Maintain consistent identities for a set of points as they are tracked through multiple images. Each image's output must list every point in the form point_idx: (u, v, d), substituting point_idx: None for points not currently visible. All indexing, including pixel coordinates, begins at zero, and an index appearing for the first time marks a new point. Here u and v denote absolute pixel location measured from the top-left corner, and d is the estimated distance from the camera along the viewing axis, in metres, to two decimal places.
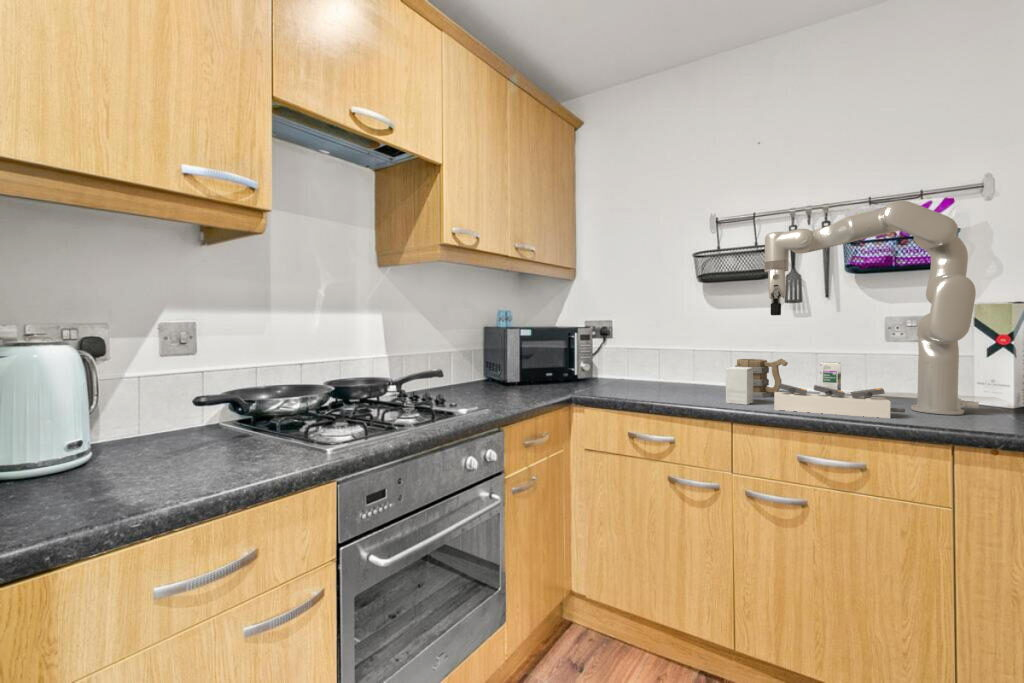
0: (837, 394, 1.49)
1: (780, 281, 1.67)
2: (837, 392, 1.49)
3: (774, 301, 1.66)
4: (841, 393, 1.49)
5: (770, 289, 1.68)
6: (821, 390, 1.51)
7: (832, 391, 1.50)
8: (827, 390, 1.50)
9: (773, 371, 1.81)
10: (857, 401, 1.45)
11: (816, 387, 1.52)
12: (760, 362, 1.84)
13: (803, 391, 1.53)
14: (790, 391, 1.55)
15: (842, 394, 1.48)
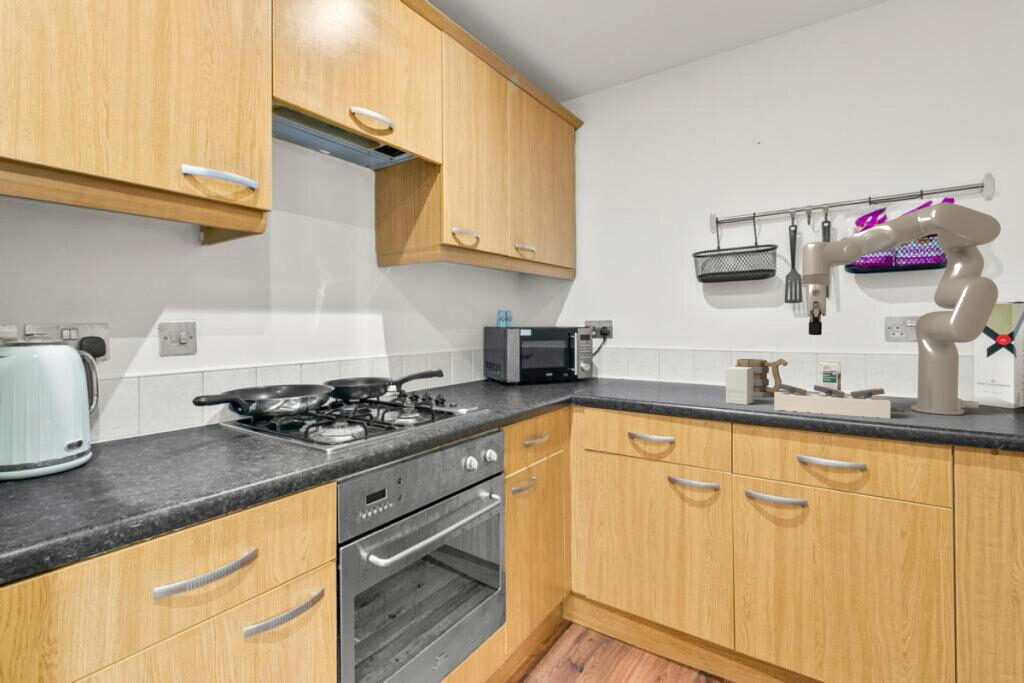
0: (837, 394, 1.49)
1: (821, 297, 1.48)
2: (837, 392, 1.49)
3: (814, 320, 1.48)
4: (841, 393, 1.49)
5: (809, 306, 1.50)
6: (821, 390, 1.51)
7: (832, 391, 1.50)
8: (827, 390, 1.50)
9: (773, 371, 1.81)
10: (857, 401, 1.45)
11: (816, 387, 1.52)
12: (760, 362, 1.84)
13: (803, 391, 1.53)
14: (790, 391, 1.55)
15: (842, 394, 1.48)
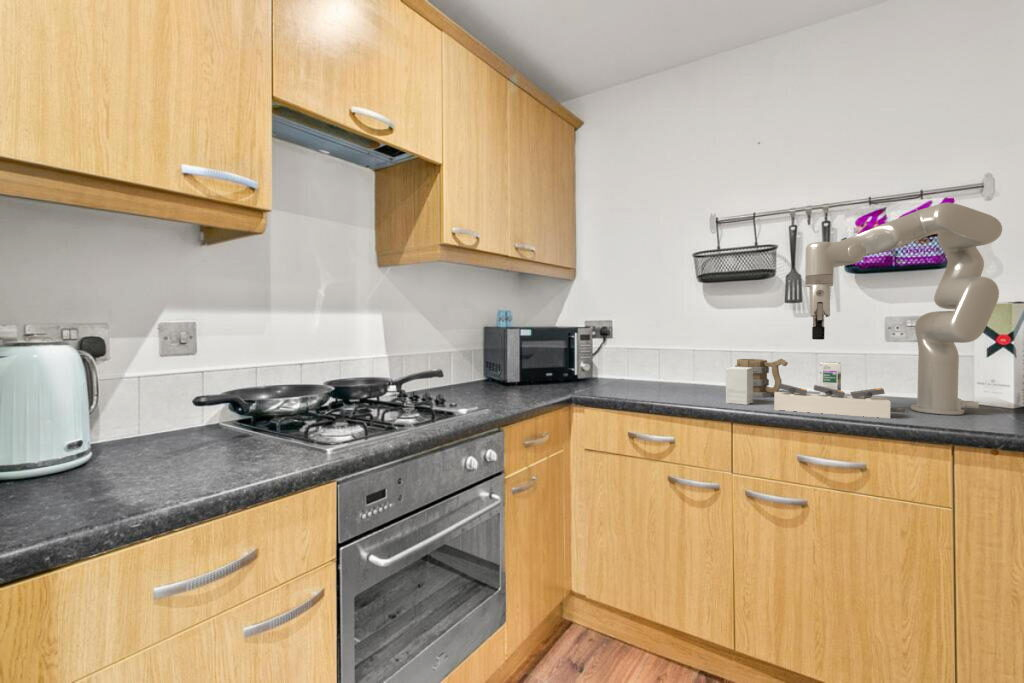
0: (837, 394, 1.49)
1: (825, 298, 1.47)
2: (837, 392, 1.49)
3: (817, 324, 1.51)
4: (841, 393, 1.49)
5: (813, 307, 1.49)
6: (821, 390, 1.51)
7: (832, 391, 1.50)
8: (827, 390, 1.50)
9: (773, 371, 1.81)
10: (857, 401, 1.45)
11: (816, 387, 1.52)
12: (760, 362, 1.84)
13: (803, 391, 1.53)
14: (790, 391, 1.55)
15: (842, 394, 1.48)
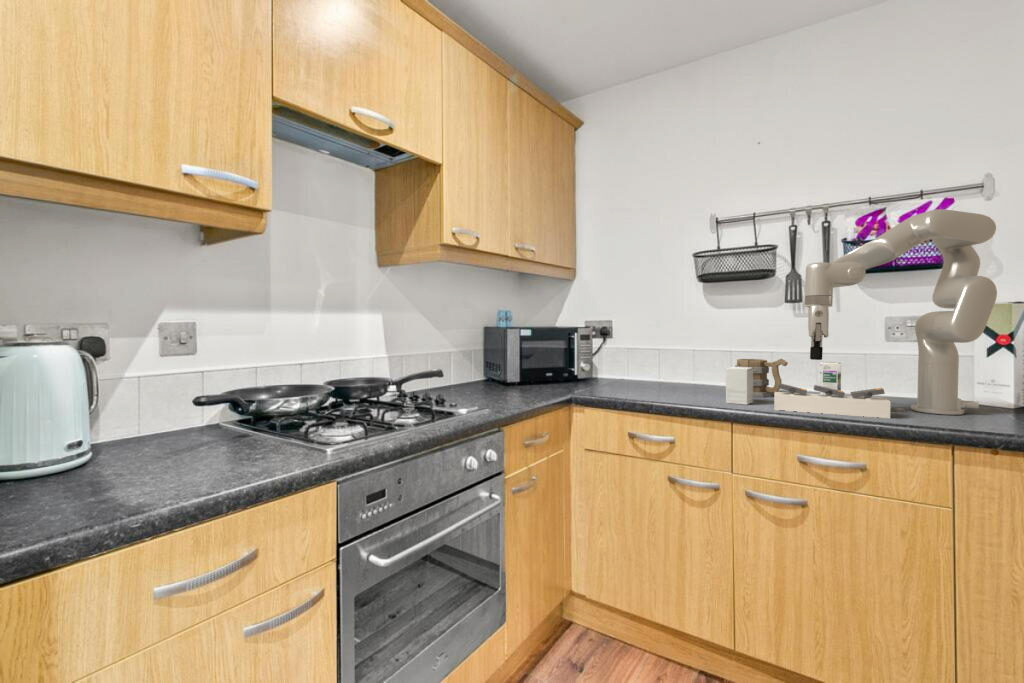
0: (837, 394, 1.49)
1: (823, 319, 1.47)
2: (837, 392, 1.49)
3: (815, 345, 1.51)
4: (841, 393, 1.49)
5: (811, 327, 1.49)
6: (821, 390, 1.51)
7: (832, 391, 1.50)
8: (827, 390, 1.50)
9: (773, 371, 1.81)
10: (857, 401, 1.45)
11: (816, 387, 1.52)
12: (760, 362, 1.84)
13: (803, 391, 1.53)
14: (790, 391, 1.55)
15: (842, 394, 1.48)
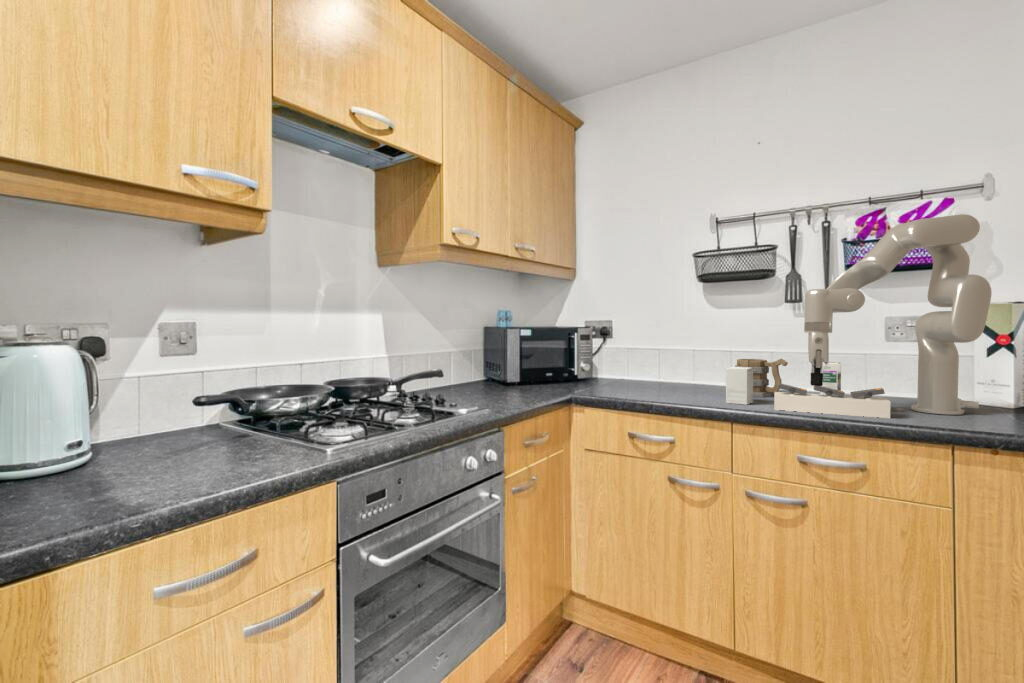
0: (837, 394, 1.49)
1: (823, 346, 1.48)
2: (837, 392, 1.49)
3: (815, 371, 1.51)
4: (841, 393, 1.49)
5: (811, 354, 1.49)
6: (821, 390, 1.51)
7: (832, 391, 1.50)
8: (827, 390, 1.50)
9: (773, 371, 1.81)
10: (857, 401, 1.45)
11: (816, 387, 1.52)
12: (760, 362, 1.84)
13: (803, 391, 1.53)
14: (790, 391, 1.55)
15: (842, 394, 1.48)
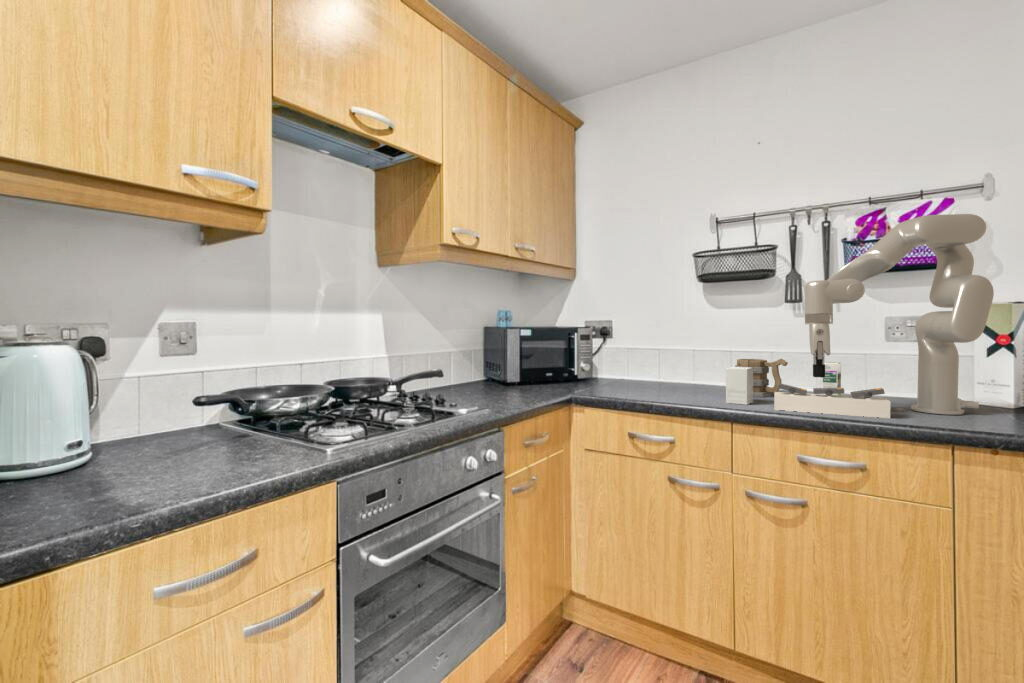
0: (837, 392, 1.49)
1: (825, 337, 1.48)
2: (836, 390, 1.49)
3: (817, 363, 1.51)
4: (841, 390, 1.49)
5: (813, 345, 1.49)
6: (821, 392, 1.51)
7: (831, 390, 1.50)
8: (826, 390, 1.50)
9: (773, 371, 1.81)
10: (857, 401, 1.45)
11: (815, 390, 1.52)
12: (760, 362, 1.84)
13: (803, 391, 1.53)
14: (790, 391, 1.55)
15: (842, 391, 1.48)
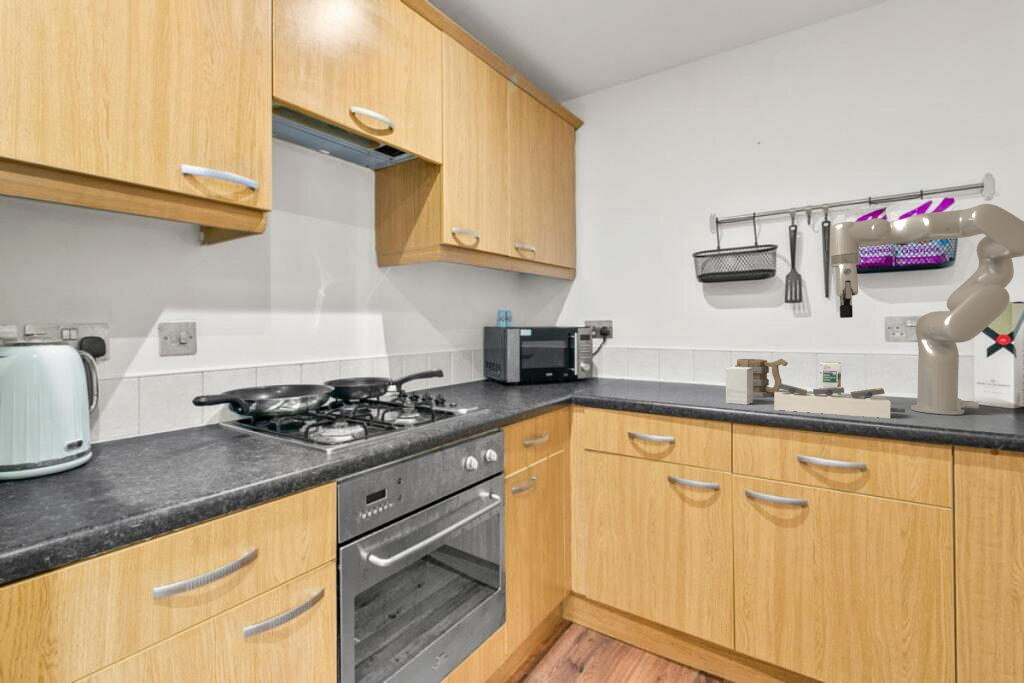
0: (837, 391, 1.49)
1: (852, 276, 1.51)
2: (836, 389, 1.49)
3: (845, 303, 1.54)
4: (840, 389, 1.49)
5: (841, 285, 1.52)
6: (821, 392, 1.51)
7: (831, 390, 1.50)
8: (826, 391, 1.50)
9: (773, 371, 1.81)
10: (857, 401, 1.45)
11: (815, 391, 1.52)
12: (760, 362, 1.84)
13: (803, 391, 1.53)
14: (790, 391, 1.55)
15: (842, 390, 1.48)
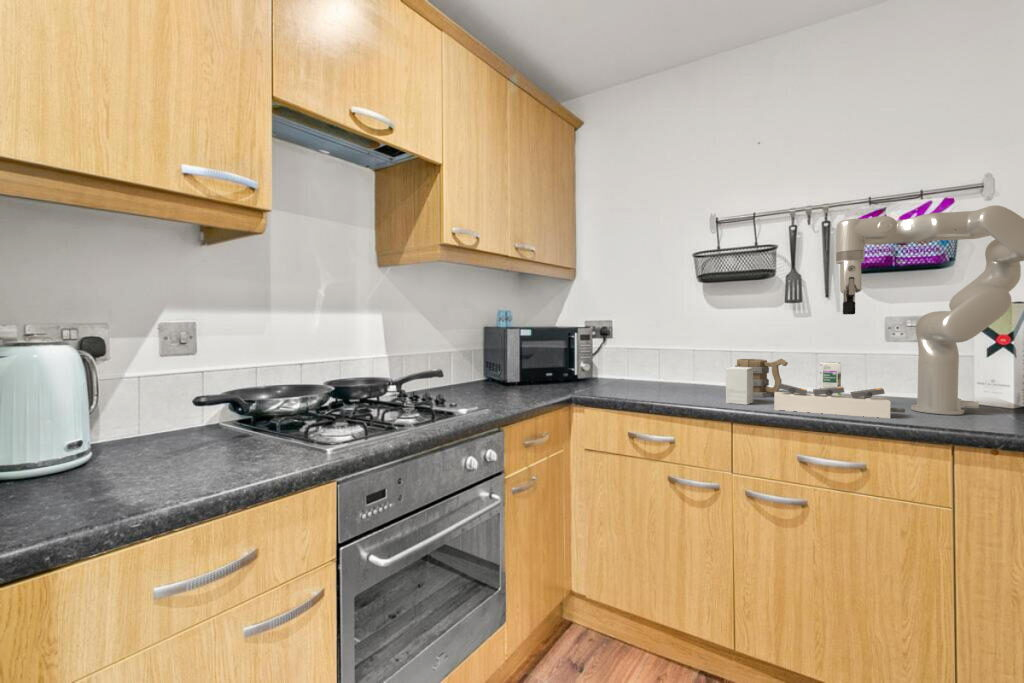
0: (837, 391, 1.49)
1: (856, 273, 1.51)
2: (836, 389, 1.49)
3: (848, 299, 1.55)
4: (840, 389, 1.49)
5: (844, 282, 1.53)
6: (821, 393, 1.51)
7: (831, 390, 1.50)
8: (826, 391, 1.50)
9: (773, 371, 1.81)
10: (857, 401, 1.45)
11: (815, 391, 1.52)
12: (760, 362, 1.84)
13: (803, 391, 1.53)
14: (790, 391, 1.55)
15: (842, 390, 1.48)
